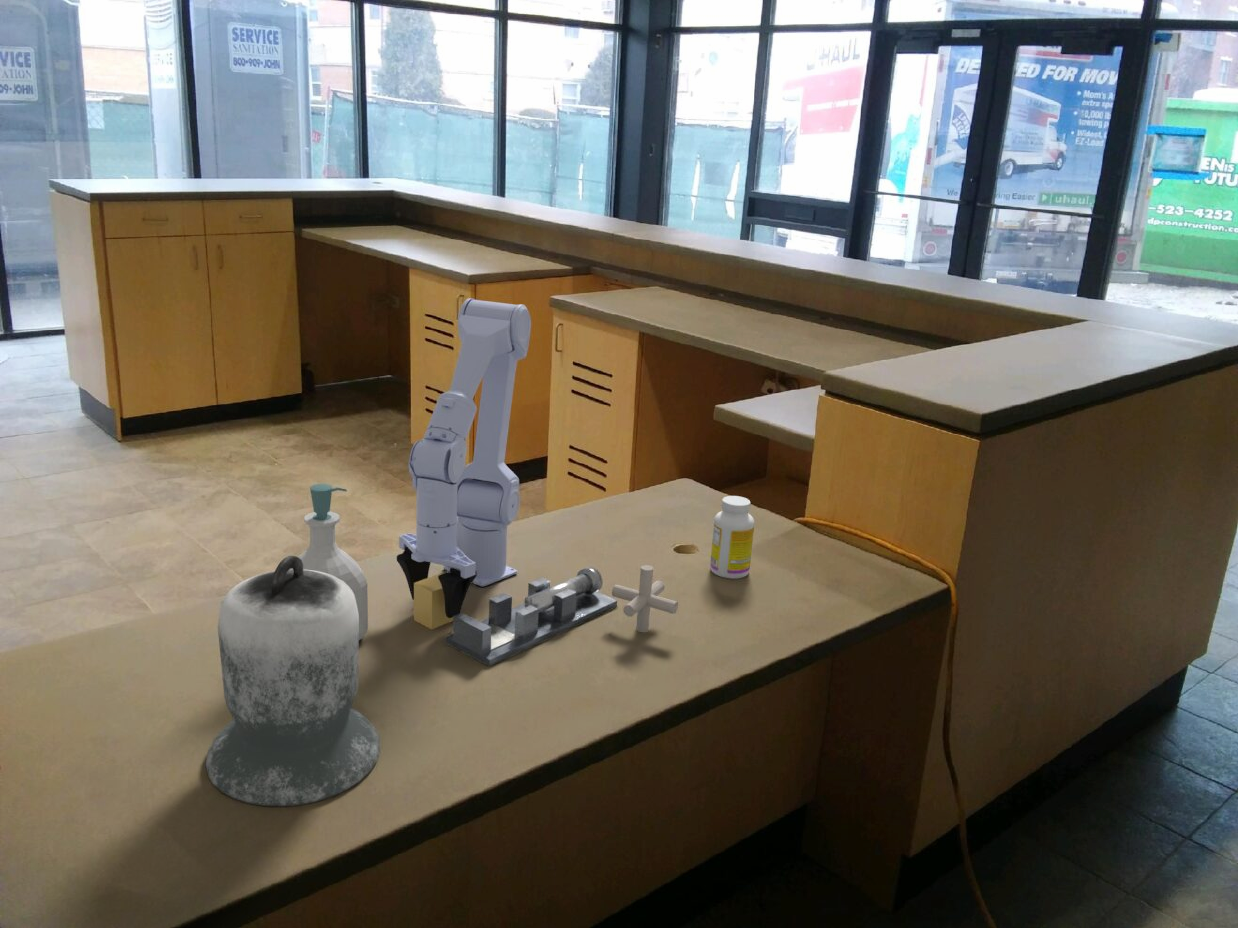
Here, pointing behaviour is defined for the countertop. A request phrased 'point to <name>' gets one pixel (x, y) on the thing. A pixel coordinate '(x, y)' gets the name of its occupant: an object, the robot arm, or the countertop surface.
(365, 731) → the bell
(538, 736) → the countertop surface
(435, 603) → the block
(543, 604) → the shaft
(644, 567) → the white crossed rods piece
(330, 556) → the soap bottle
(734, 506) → the supplement bottle
